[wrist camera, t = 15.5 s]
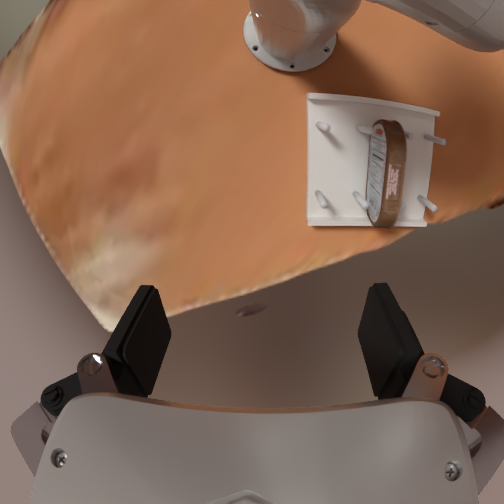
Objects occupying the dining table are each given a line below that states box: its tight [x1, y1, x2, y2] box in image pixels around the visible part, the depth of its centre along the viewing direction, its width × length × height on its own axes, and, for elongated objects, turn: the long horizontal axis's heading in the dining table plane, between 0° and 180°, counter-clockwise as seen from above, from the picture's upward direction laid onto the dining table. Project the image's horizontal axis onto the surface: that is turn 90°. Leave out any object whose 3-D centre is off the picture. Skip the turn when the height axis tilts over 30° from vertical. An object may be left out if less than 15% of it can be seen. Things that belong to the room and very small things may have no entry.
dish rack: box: [306, 93, 446, 227], centre depth 34 cm, size 19×20×6 cm
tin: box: [366, 119, 407, 229], centre depth 32 cm, size 15×3×8 cm, turn 2°
